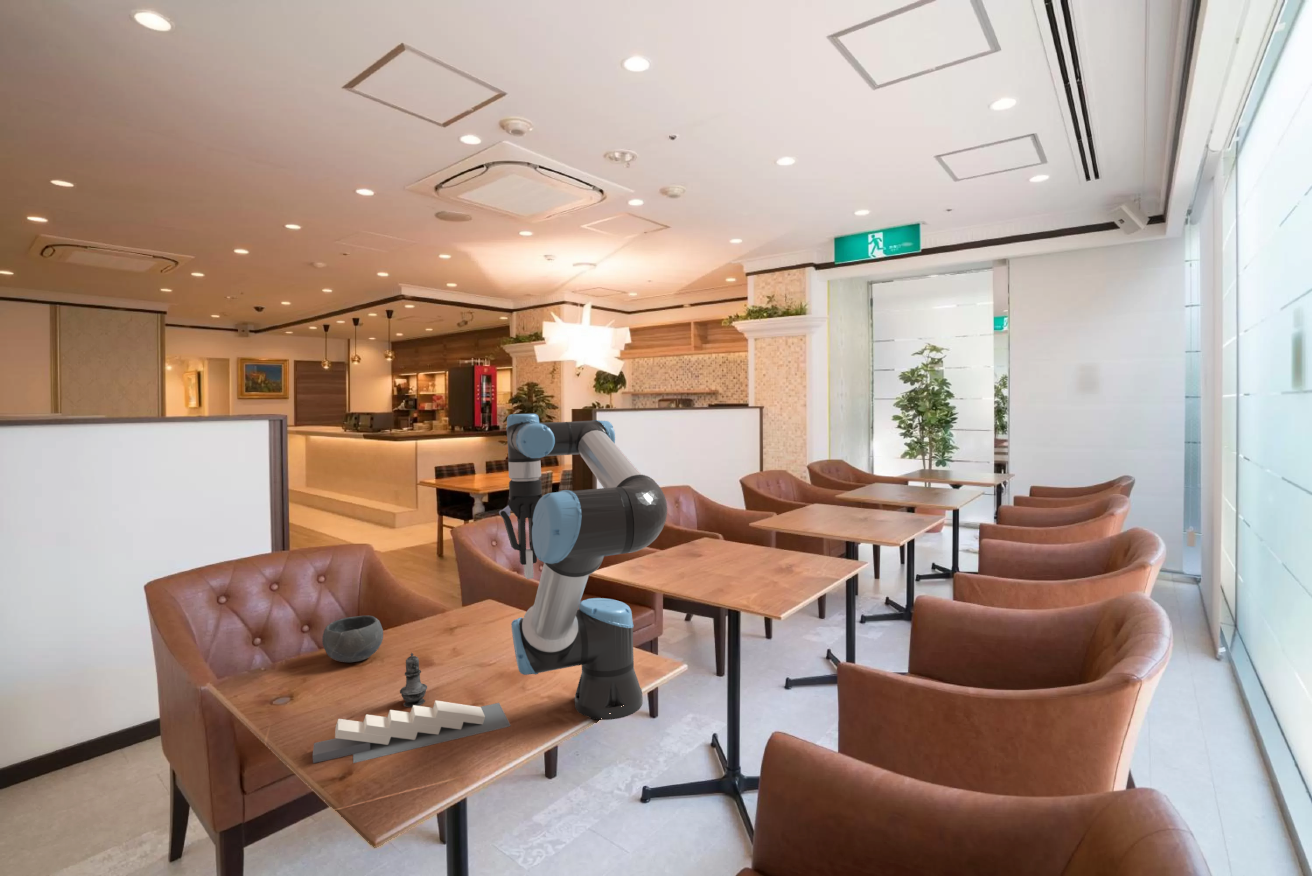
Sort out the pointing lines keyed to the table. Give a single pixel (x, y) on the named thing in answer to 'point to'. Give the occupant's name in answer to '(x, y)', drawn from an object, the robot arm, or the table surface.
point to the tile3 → (408, 723)
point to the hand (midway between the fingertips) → (529, 577)
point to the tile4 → (384, 728)
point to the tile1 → (458, 712)
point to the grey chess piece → (413, 683)
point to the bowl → (352, 638)
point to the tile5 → (357, 732)
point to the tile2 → (431, 718)
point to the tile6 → (337, 749)
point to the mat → (492, 721)
